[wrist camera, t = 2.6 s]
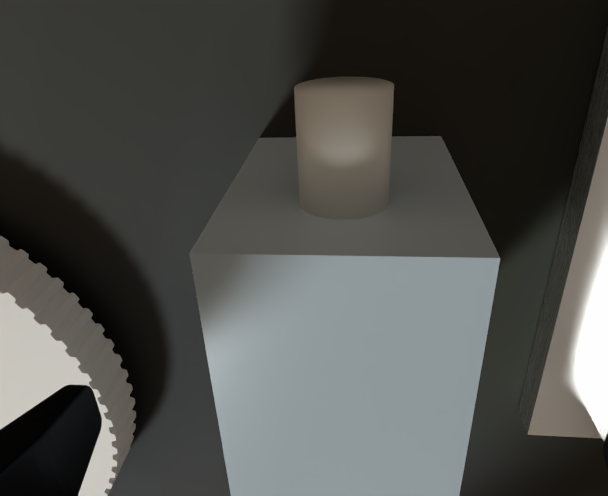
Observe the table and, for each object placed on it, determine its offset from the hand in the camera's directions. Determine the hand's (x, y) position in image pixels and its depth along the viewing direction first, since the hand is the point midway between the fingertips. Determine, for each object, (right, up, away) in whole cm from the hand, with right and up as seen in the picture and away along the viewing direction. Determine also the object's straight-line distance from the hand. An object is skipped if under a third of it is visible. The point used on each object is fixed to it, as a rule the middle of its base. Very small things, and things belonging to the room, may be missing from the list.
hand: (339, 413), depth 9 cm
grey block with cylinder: (+1, +3, +5) cm, 6 cm away
